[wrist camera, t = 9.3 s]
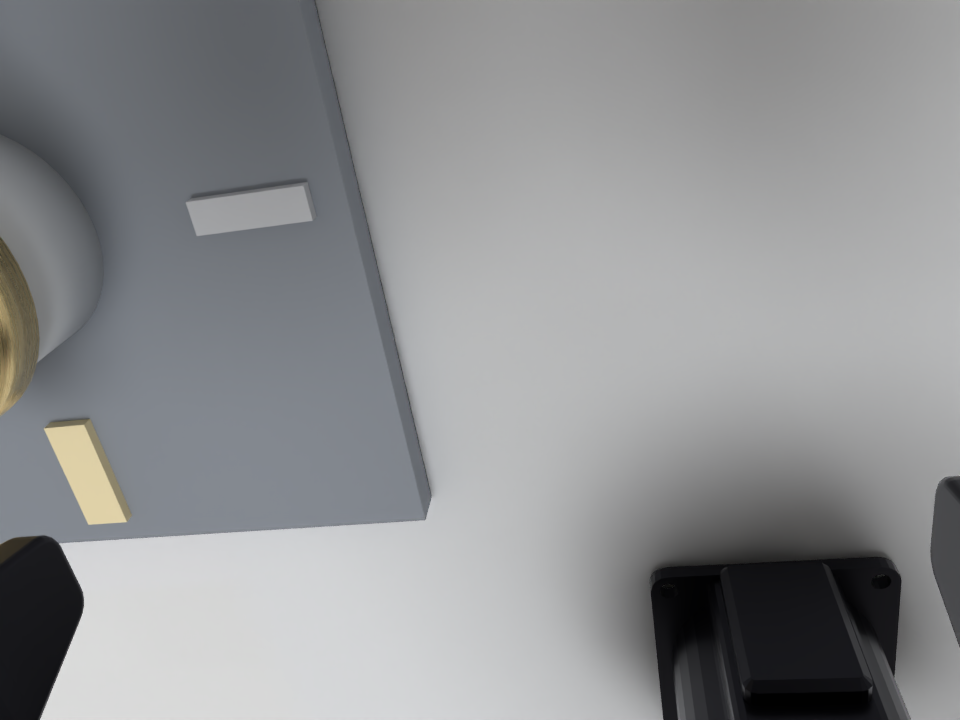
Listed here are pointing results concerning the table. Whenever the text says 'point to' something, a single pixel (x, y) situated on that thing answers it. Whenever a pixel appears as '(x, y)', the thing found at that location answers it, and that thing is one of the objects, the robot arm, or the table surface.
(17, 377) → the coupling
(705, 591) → the robot arm
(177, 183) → the post base
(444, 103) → the table surface
